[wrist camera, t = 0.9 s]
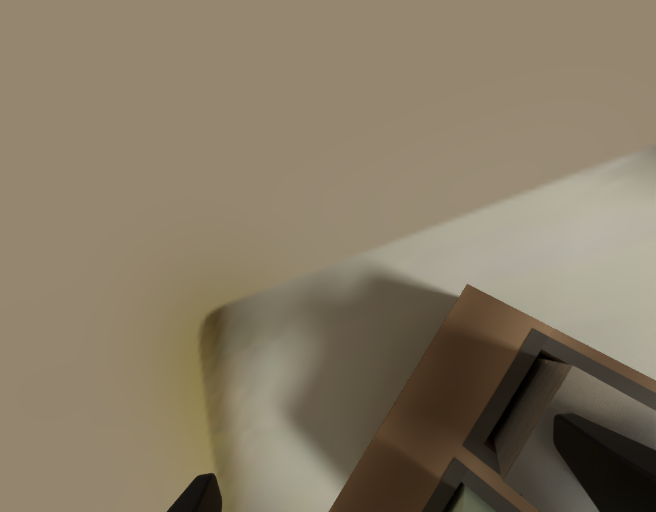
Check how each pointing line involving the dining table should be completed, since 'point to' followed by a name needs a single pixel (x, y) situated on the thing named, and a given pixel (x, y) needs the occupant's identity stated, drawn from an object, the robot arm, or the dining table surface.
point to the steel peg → (537, 432)
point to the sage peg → (467, 502)
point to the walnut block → (467, 410)
